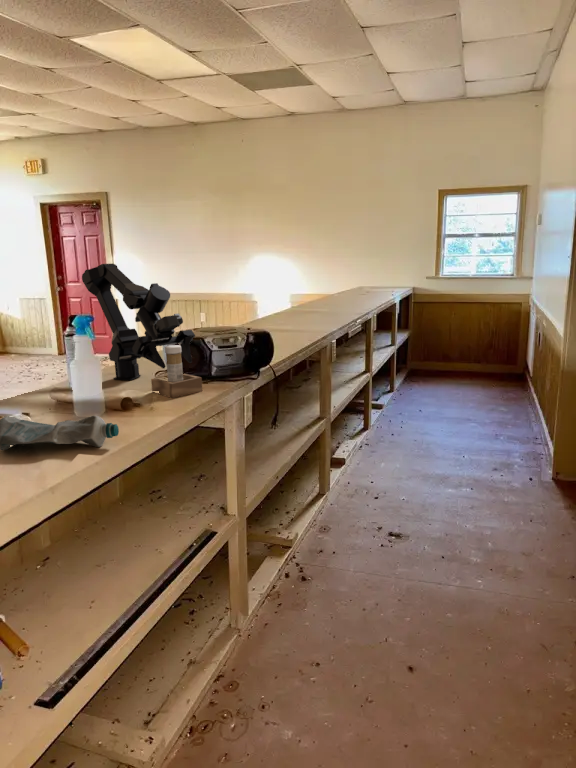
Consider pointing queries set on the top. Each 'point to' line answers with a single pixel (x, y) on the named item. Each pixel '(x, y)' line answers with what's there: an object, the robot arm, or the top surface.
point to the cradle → (178, 386)
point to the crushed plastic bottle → (55, 431)
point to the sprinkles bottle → (174, 363)
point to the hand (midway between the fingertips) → (178, 364)
